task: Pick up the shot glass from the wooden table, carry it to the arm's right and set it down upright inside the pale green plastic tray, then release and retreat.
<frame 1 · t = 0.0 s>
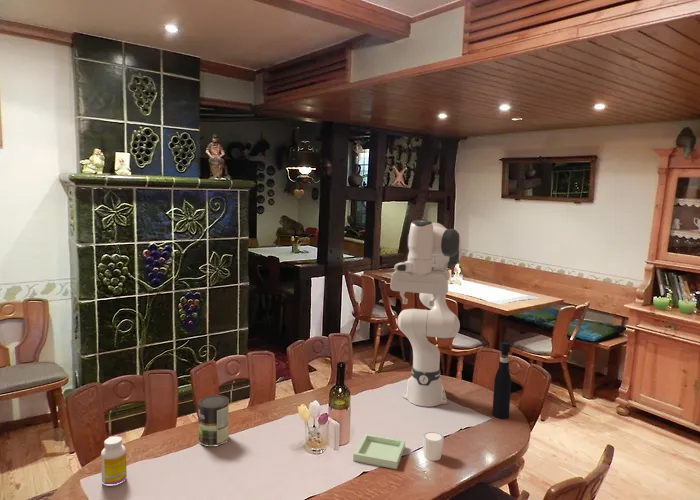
hand: (418, 305, 173), 48 cm above the table, fingers open, 8 cm apart
supplement bottle: (114, 481, 145), on the table
coffee can: (213, 440, 170), on the table
shot glass: (432, 456, 163), on the table
wine bottle: (500, 415, 195), on the table
tray: (379, 453, 164), on the table
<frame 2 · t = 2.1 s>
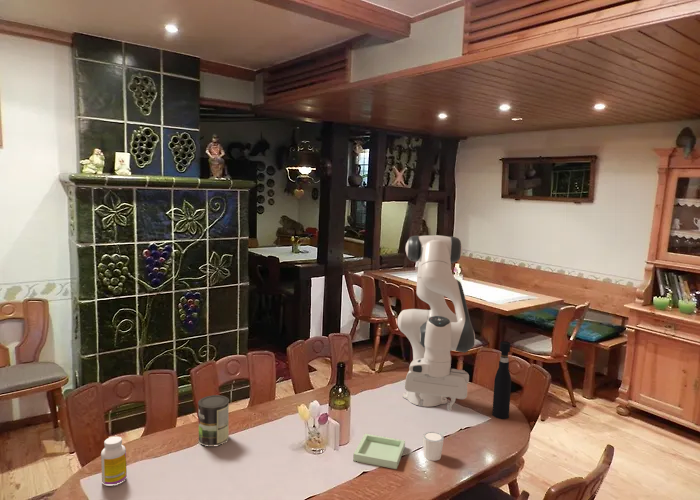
hand: (434, 407, 161), 17 cm above the table, fingers open, 8 cm apart
nothing on the table moved.
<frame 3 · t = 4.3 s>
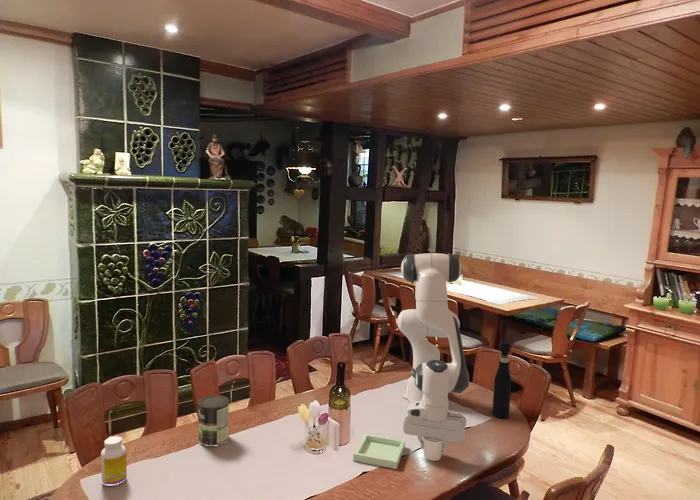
hand: (432, 449, 163), 2 cm above the table, fingers closed on shot glass, 5 cm apart
shot glass: (432, 456, 163), on the table, touching gripper
everything else where it was.
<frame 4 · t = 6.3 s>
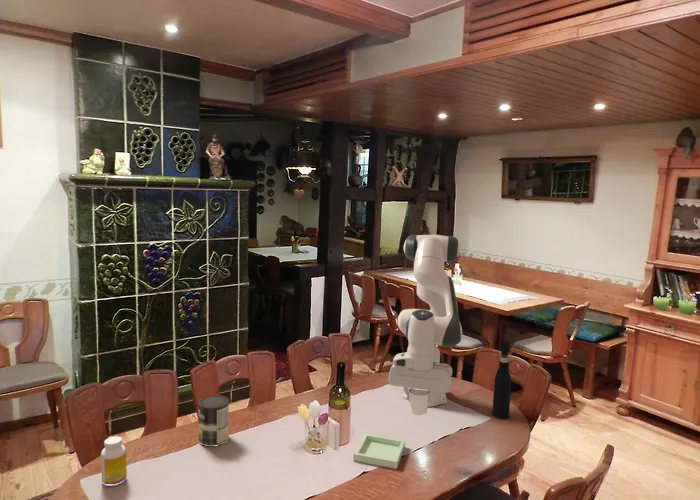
hand: (418, 400, 161), 19 cm above the table, fingers closed on shot glass, 5 cm apart
shot glass: (418, 411, 162), point 16 cm above the table, touching gripper
everything else where it was.
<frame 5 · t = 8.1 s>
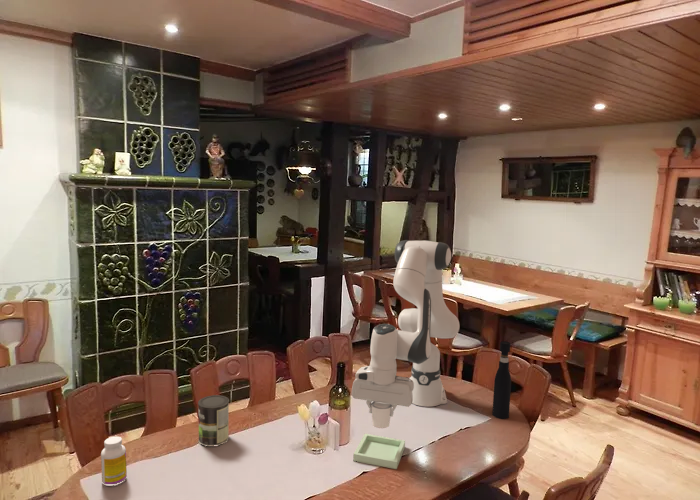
hand: (381, 414, 162), 14 cm above the table, fingers closed on shot glass, 5 cm apart
shot glass: (380, 424, 163), point 10 cm above the table, touching gripper
everything else where it was.
when the fingers open (4 cm above the table, at t = 10.6 s): shot glass stays where it is, resting on tray.
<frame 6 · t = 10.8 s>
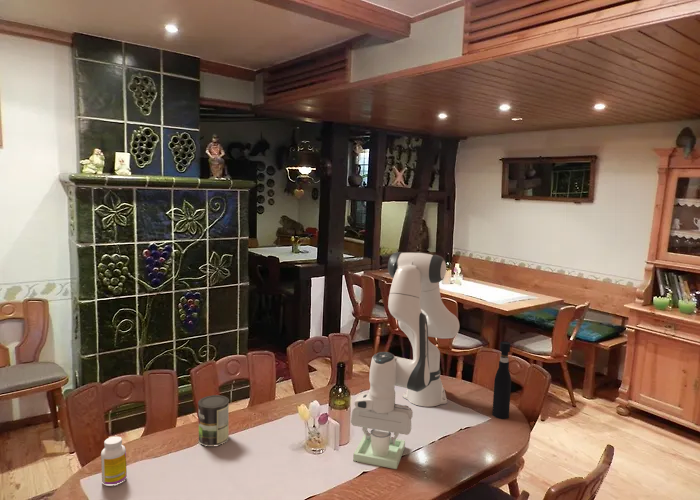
hand: (380, 441, 163), 4 cm above the table, fingers open, 7 cm apart
shot glass: (380, 452, 164), resting on tray
everything else where it was.
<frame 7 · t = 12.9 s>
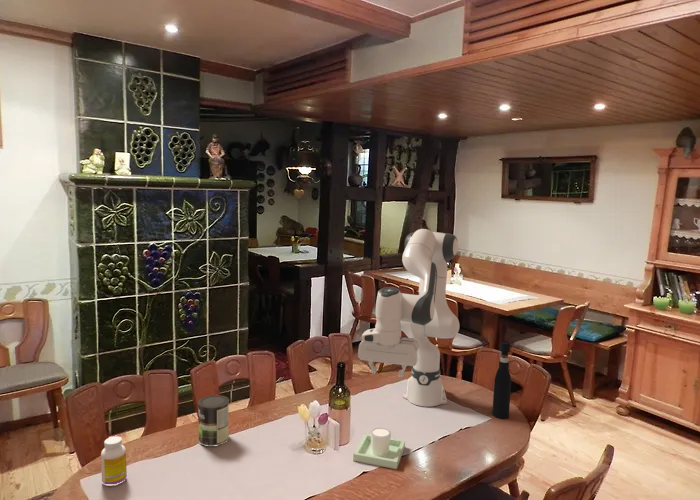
hand: (387, 374, 167), 25 cm above the table, fingers open, 8 cm apart
nothing on the table moved.
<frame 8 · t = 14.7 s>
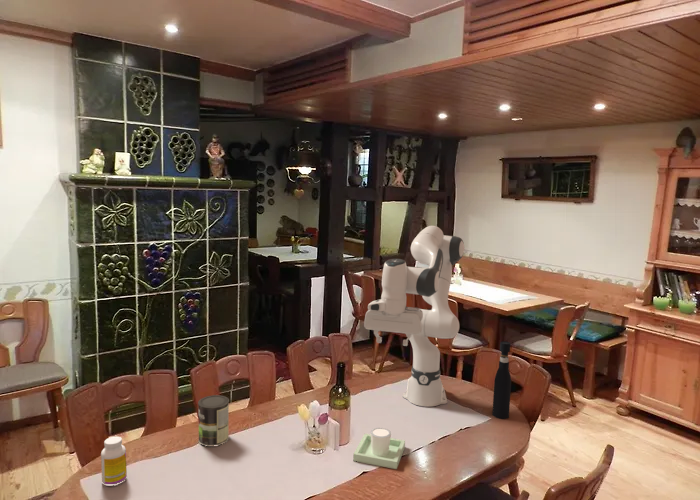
hand: (392, 343, 173), 34 cm above the table, fingers open, 8 cm apart
nothing on the table moved.
at the end: shot glass inside the target area on the tray (0.0 cm from its centre), point 0.4 cm above the tray's base; shot glass tilted 0°; the gripper is holding nothing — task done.
